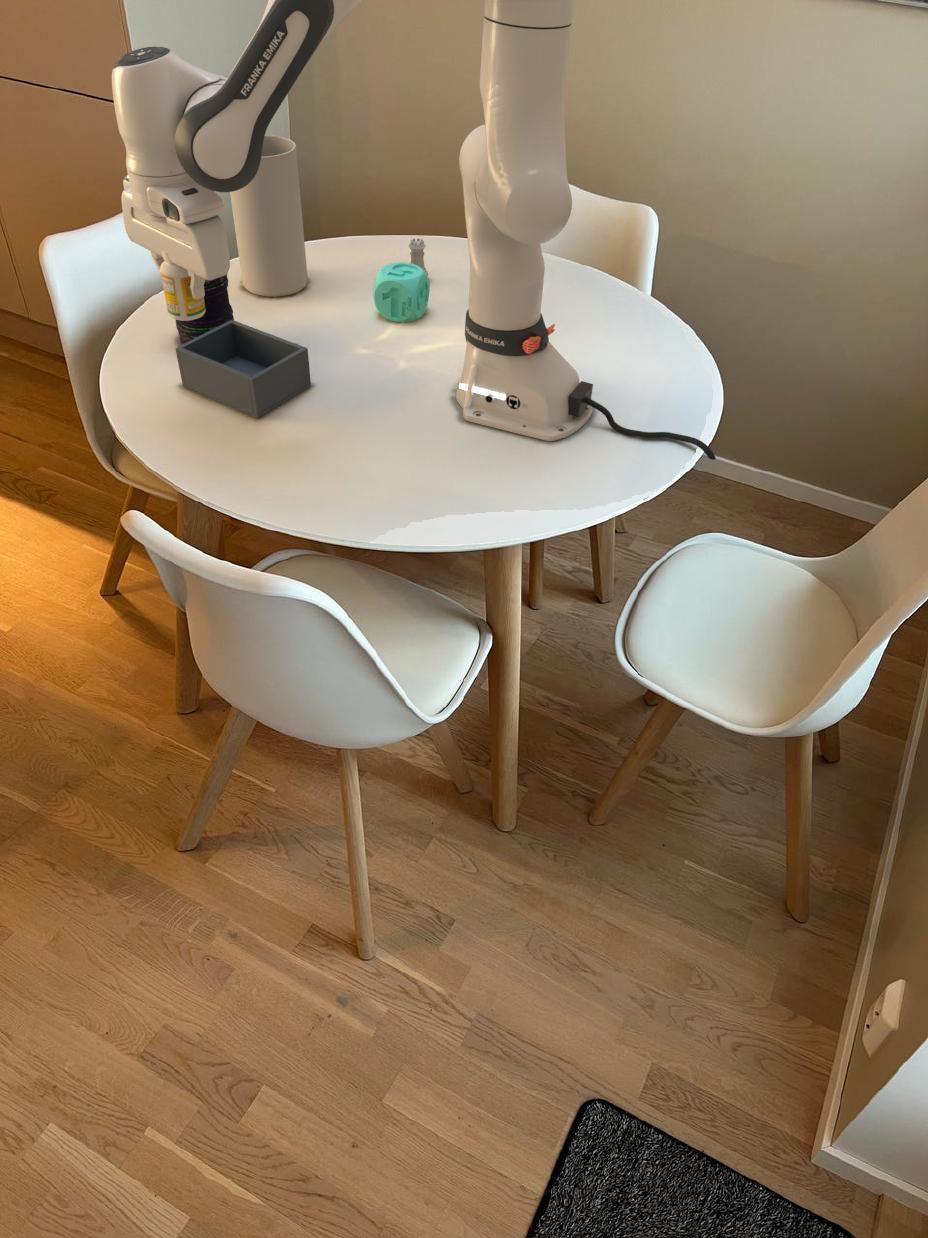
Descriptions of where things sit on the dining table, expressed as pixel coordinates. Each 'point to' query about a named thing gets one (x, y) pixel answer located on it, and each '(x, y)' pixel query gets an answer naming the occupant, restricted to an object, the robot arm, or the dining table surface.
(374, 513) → the dining table surface
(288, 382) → the box shelf
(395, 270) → the decorative dice
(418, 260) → the rook chess piece
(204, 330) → the dark barrel
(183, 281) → the supplement bottle
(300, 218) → the cylinder vase
